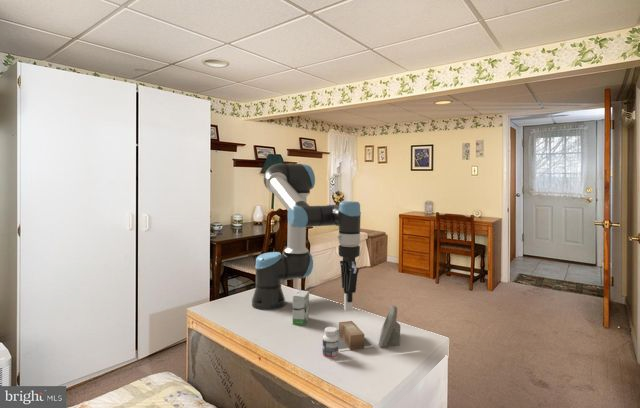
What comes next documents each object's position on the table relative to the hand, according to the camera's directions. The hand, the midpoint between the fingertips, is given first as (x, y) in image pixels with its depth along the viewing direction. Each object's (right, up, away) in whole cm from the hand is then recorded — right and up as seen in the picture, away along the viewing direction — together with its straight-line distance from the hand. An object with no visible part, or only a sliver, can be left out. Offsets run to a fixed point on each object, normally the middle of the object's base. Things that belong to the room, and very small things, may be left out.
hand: (348, 309), depth 129 cm
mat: (0, -11, 0) cm, 11 cm away
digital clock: (+14, -11, 0) cm, 18 cm away
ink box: (-18, -10, +16) cm, 26 cm away
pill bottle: (-7, -12, -12) cm, 18 cm away
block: (-1, -8, +3) cm, 8 cm away
